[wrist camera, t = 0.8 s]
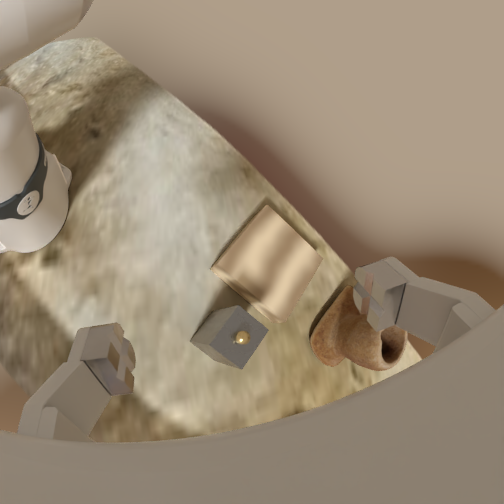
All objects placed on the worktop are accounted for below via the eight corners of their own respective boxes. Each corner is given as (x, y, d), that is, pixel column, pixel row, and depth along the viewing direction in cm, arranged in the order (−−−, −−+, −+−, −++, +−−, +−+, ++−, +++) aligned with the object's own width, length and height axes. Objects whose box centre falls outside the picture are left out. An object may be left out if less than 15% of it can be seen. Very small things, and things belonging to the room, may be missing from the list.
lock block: (189, 341, 40) (211, 345, 29) (212, 311, 42) (242, 304, 32) (215, 360, 40) (245, 370, 30) (236, 330, 43) (273, 329, 32)
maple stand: (209, 269, 44) (217, 263, 41) (256, 213, 51) (266, 204, 47) (273, 323, 46) (285, 321, 43) (310, 263, 53) (323, 258, 49)
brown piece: (332, 380, 48) (393, 386, 35) (297, 339, 47) (358, 337, 34) (369, 325, 55) (426, 318, 42) (341, 285, 55) (398, 269, 41)
